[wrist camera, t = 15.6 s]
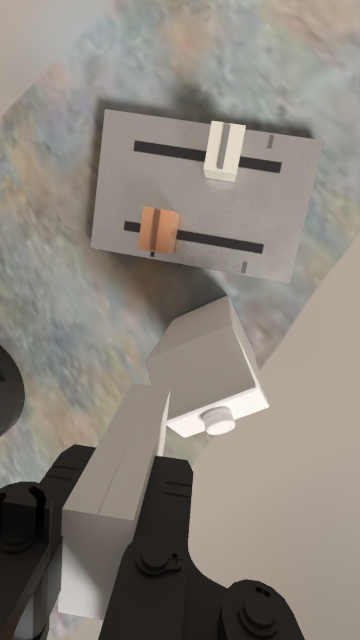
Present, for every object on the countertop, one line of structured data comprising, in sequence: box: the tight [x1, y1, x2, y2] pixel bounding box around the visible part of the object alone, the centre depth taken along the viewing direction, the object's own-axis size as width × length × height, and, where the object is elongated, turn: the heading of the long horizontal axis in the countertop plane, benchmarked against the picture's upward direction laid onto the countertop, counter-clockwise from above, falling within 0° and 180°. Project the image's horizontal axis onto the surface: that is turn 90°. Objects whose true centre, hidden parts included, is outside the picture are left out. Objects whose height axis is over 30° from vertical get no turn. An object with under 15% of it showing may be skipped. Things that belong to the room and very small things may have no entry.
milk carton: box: [146, 296, 269, 437], centre depth 31 cm, size 7×7×19 cm
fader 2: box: [204, 121, 246, 182], centre depth 32 cm, size 3×4×4 cm
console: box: [90, 109, 324, 283], centre depth 37 cm, size 22×14×2 cm, turn 80°
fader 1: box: [138, 206, 180, 254], centre depth 34 cm, size 3×4×4 cm
